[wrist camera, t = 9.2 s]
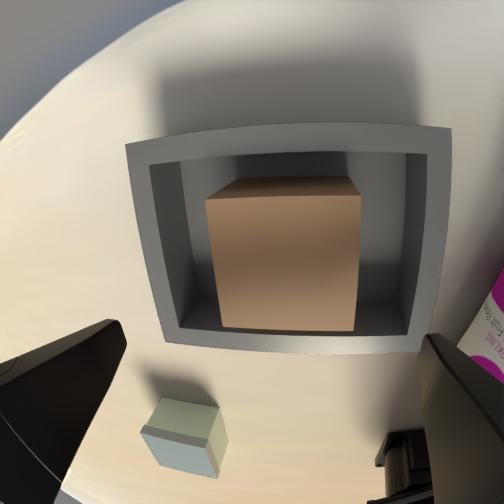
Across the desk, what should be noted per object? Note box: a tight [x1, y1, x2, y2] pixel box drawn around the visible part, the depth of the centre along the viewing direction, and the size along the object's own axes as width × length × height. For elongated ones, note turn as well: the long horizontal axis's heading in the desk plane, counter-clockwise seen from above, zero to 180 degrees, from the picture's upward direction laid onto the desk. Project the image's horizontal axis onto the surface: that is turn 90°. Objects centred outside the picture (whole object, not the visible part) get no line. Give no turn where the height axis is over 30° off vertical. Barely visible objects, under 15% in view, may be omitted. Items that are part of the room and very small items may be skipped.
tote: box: [125, 122, 452, 354], centre depth 16 cm, size 11×15×4 cm
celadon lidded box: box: [140, 397, 228, 479], centre depth 25 cm, size 6×6×5 cm
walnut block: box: [205, 176, 361, 331], centre depth 15 cm, size 6×6×5 cm
